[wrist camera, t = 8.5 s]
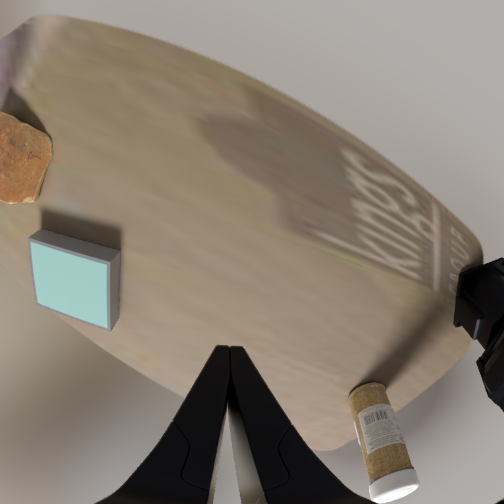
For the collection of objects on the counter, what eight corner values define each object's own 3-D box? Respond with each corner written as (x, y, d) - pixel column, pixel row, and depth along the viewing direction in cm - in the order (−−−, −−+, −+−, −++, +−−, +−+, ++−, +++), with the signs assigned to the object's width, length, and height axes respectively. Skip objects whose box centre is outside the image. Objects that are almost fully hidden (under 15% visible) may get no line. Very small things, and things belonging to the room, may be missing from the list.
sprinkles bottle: (343, 407, 30) (365, 508, 18) (351, 382, 28) (381, 493, 16) (379, 402, 30) (409, 497, 18) (390, 377, 28) (428, 480, 16)
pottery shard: (-24, 183, 20) (-40, 190, 18) (-5, 98, 17) (-23, 100, 15) (36, 228, 22) (20, 239, 20) (62, 134, 19) (44, 137, 17)
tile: (110, 262, 21) (27, 237, 20) (110, 331, 24) (36, 304, 23) (122, 248, 23) (43, 227, 22) (120, 315, 26) (48, 291, 25)
